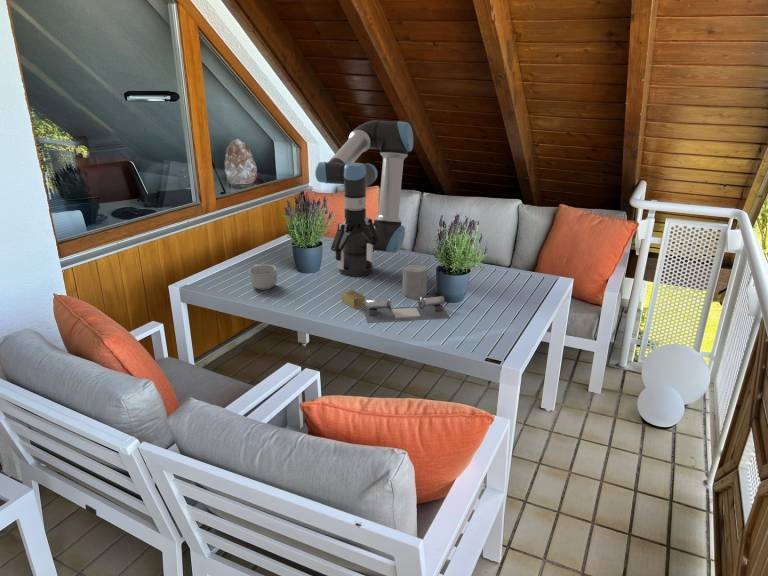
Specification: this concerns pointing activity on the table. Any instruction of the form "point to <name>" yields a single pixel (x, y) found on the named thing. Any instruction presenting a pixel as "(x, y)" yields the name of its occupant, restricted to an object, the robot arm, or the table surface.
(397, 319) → the board
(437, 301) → the shaft
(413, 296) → the speckled tin can
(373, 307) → the shaft
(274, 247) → the table surface
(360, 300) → the coupler
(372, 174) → the robot arm
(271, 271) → the teacup
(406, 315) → the off-white flat plate
